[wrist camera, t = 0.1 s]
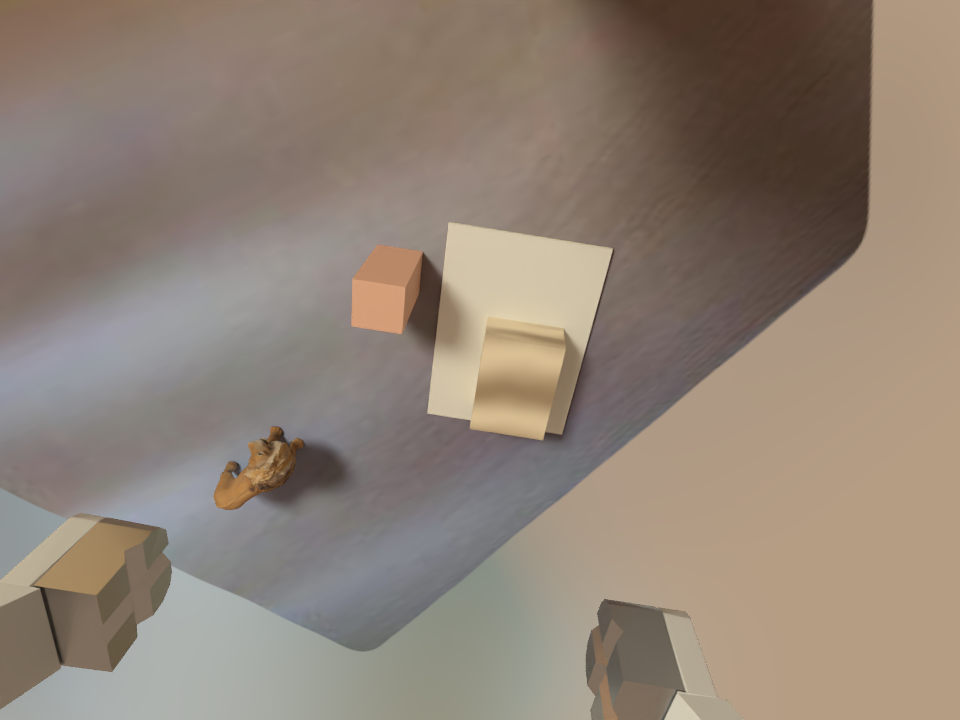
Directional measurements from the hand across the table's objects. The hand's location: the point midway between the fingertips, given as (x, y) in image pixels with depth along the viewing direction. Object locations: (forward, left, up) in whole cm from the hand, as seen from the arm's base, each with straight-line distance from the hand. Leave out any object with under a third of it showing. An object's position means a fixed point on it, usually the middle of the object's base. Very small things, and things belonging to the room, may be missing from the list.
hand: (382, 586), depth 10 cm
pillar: (+10, -7, -39) cm, 41 cm away
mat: (+15, +4, -39) cm, 42 cm away
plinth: (+18, +5, -39) cm, 43 cm away
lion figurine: (+33, -20, -39) cm, 55 cm away
